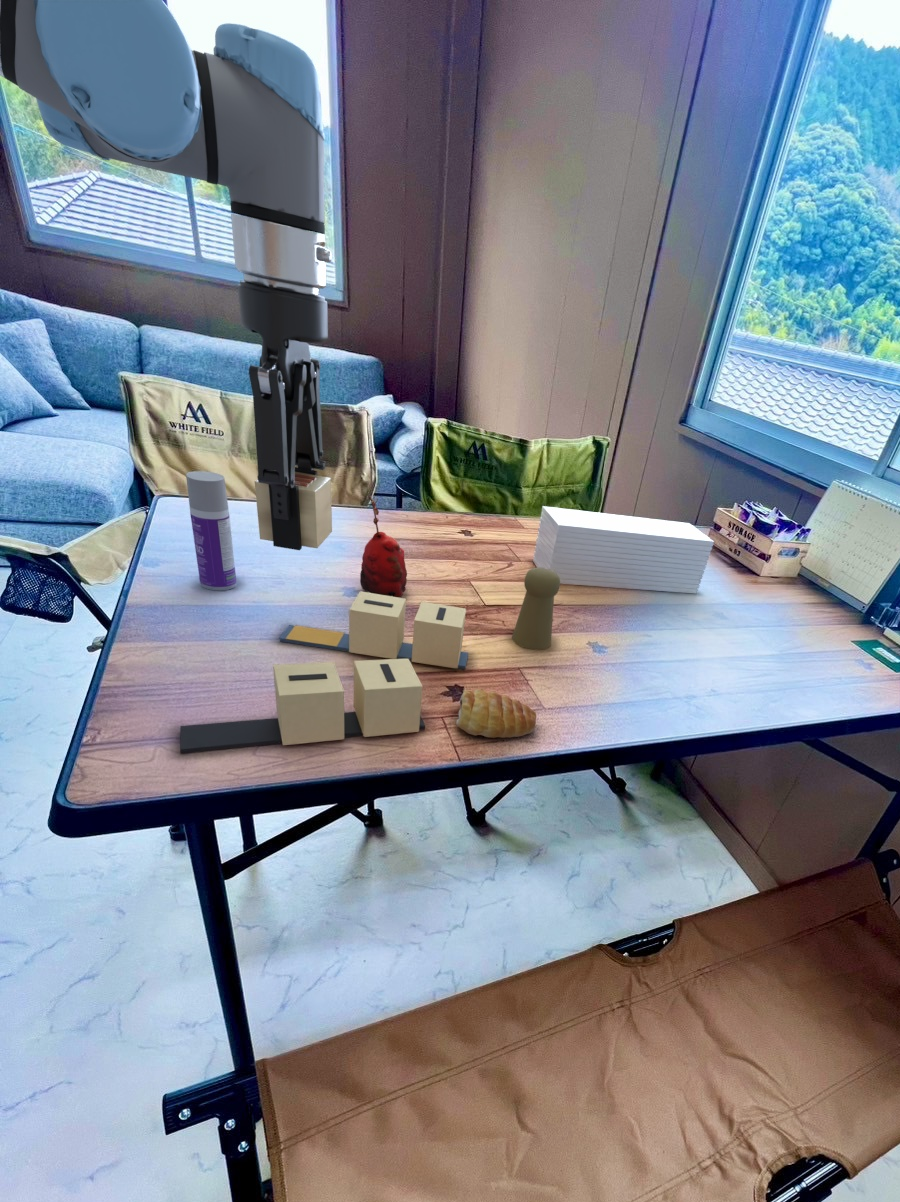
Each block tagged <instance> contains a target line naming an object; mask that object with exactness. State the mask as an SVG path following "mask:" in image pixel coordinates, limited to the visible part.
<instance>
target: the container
mask: <svg viewBox="0 0 900 1202" xmlns="http://www.w3.org/2000/svg"><path fill="white" fill-rule="evenodd" d="M185 477H186V478H185V479H186V488H187V496H188V497H187V498H188V504H189V505H188V506H189V514H190V522H191V529H192V536H193V542H194V550H195V556H196V564H197V570H198V577H199V578H198V579H199V584H200V586H201V587H202V588H204V589H206V590H211V591H228V590H232V589H234V588H235V587H237V574H236V565H235V555H234V546H233V545H234V544H233V536H232V527H231V525H232V524H231V516H230V510H229V501H228V495H227V487H226V480H225V476H224V475H222V474H220V473H217V472H213V471H205V470H193V471H188V472H186V474H185Z"/></svg>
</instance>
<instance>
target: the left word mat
mask: <svg viewBox="0 0 900 1202" xmlns="http://www.w3.org/2000/svg"><path fill="white" fill-rule="evenodd" d="M272 670H273V682H274V683H273V684H274V692H275V694H274V696H275V705H276V715H277V717H275V718H261V719H249V720H238V721H225V722H224V721H223V722H212V723H202V724H201V723H200V724H187V725H180V735H179V736H180V738H179V739H180V742H179V744H180V745H179V749H180V753H181V754H189V753H200V752H210V751H219V750H220V751H221V750H228V749H238V748H239V749H240V748H248V747H249V748H251V747H260V746H269V745H270V746H271V745H280V744H282V746H291V745H300V744H309V743H318V742H319V743H320V742H330V741H338V740H339V741H340V740H341V741H342V740H345V738H350V737H361V736H363V737H364V738H367V737H368V738H369V737H379V736H388V735H389V736H390V735H400V734H408V733H418V732H420V731H424V730H426V725H425V722H424V720H423V718H422V716H421V709H422V699H423V697H422V696H423V684H422V682H421V681H420V678H419V676H418V674H417V672H416V671H415V668H414V667H413V664H412V662H411V661H409V659H391V658H385V659H368V660H365V659H364V660H353V704H352V705H353V706H352V707H353V709H354V711H347V712H345V690H344V687H343V684H342V681H341V678H340V674H339V672H338V669H337V666H336V663H335V661H323V662H322V661H320V662H319V661H318V662H298V663H296V662H295V663H281V664H280V663H275V664H272Z"/></svg>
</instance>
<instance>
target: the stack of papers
mask: <svg viewBox="0 0 900 1202" xmlns="http://www.w3.org/2000/svg"><path fill="white" fill-rule="evenodd" d="M714 544H715V541H714V540H712V539H711V537H709V536H708V535H706V533H703V532H702V531H700V530H699V529H698V528H696V526H694V525H693V524H691V523H690V522H681V521H674V520H666V519H665V520H664V519H656V518H648V517H639V516H631V515H623V514H614V513H613V514H612V513H604V512H598V511H597V512H596V511H587V510H579V509H572V508H561V507H553V506H546V505H545V506H544V505H542V508H541V512H540V518H539V524H538V532H537V536H536V542H535V547H534V552H533V558H532V562H533V563H534V565H535V566H536V568H538V567H540V568H546V569H550V570H552V571H554V572H555V573H557V574H558V575H559V578H560V585H561V584H562V585H574V586H575V585H576V586H587V587H588V586H589V587H601V588H613V589H615V588H616V589H628V590H640V591H641V590H642V591H643V590H644V591H658V592H672V593H685V594H686V593H687V594H698V591H699V589H700V584H701V582H702V579H703V577H704V574H705V570H706V568H707V564H708V561H709V559H710V556H711V552H712V550H713V547H714Z"/></svg>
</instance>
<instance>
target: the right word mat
mask: <svg viewBox="0 0 900 1202" xmlns="http://www.w3.org/2000/svg"><path fill="white" fill-rule="evenodd" d="M406 607H407V598H405V597H393V596H386V595H380V594H374V593H370V592H368V591H361V590H360V591H359V592H358V594H357V595H356V597H355V599H354V601H353V602H352V604H351V606H350V607H349V609H348V633H346V632H341V631H334V630H328V629H322V628H315V627H310V626H302V625H297V624H296V625H292V624H288V626H287V627H286V629H285V630H284V631H283V632H282V634H281V635H280V637H279V642H282V643H287V644H288V643H289V644H294V645H302V646H310V647H315V648H320V649H321V648H322V649H329V650H336V651H341V652H348V653H352V654H358V655H365V656H371V657H377V658H385V659H409V661H410V662H411V663H417V664H418V663H419V664H425V665H431V666H437V667H438V666H439V667H443V668H444V667H445V668H450V669H460V670H466V667H467V662H468V657H469V652H467V651H462V648H463V642H464V641H463V640H464V631H465V623H466V615H467V614H466V613H467V608H465V607H459V606H452V605H447V604H439V603H435V602H427V601H420V603H419V607H418V609H417V611H416V615H415V617H414V621H413V633H412V634H413V635H412V643H409V642H404V641H405V640H404V639H405V625H406V609H407V608H406Z"/></svg>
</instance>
